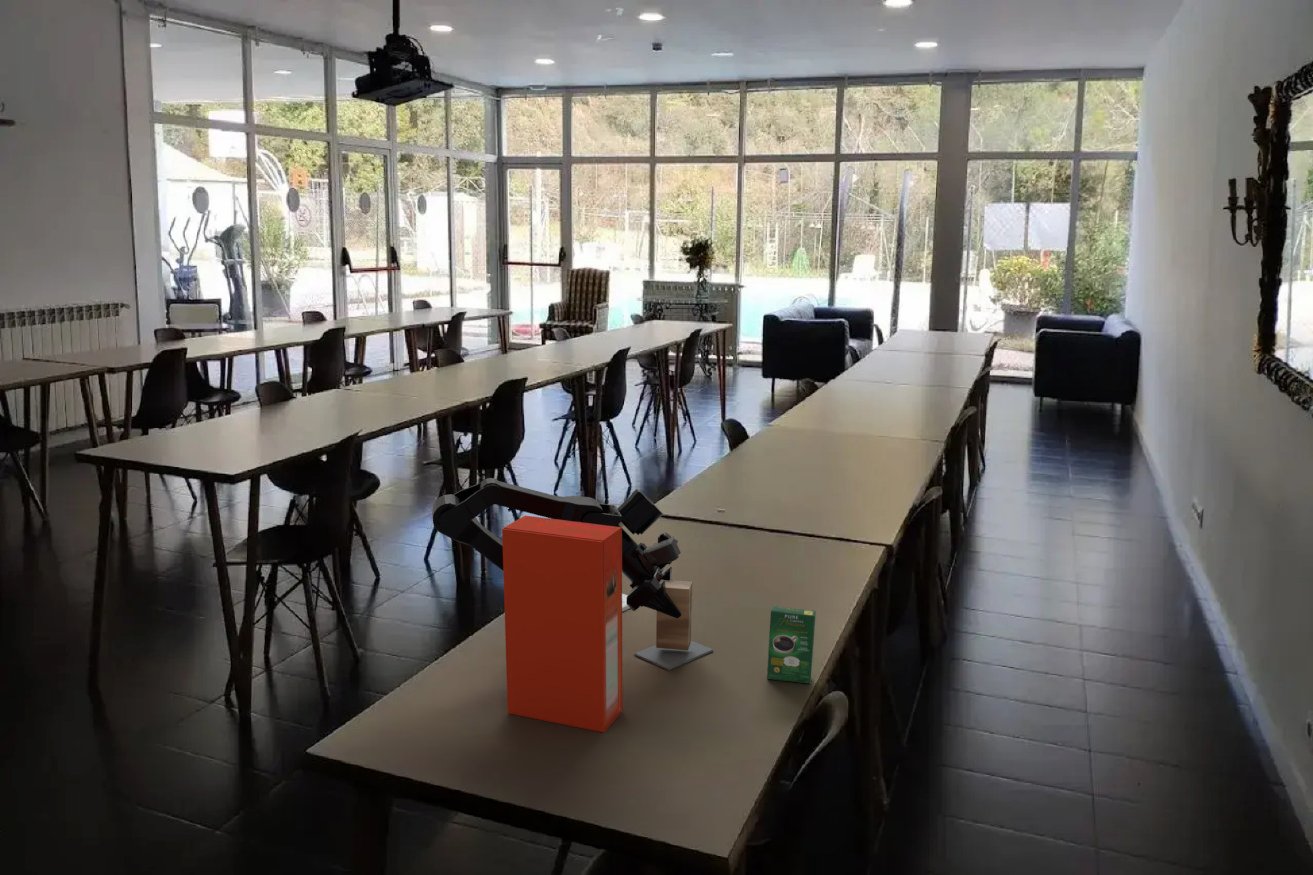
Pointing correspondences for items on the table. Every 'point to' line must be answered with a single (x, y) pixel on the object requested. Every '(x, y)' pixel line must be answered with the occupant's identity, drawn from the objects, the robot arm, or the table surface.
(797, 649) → the coffee box
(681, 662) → the mat
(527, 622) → the file binder
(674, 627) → the tall wooden block tower
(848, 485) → the table surface
